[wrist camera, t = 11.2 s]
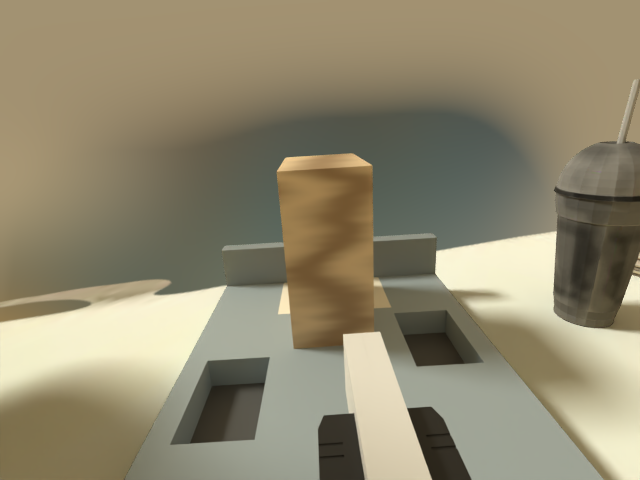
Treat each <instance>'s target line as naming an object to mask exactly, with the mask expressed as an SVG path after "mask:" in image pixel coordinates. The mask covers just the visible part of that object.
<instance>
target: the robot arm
mask: <svg viewBox="0 0 640 480" xmlns="http://www.w3.org/2000/svg"><path fill="white" fill-rule="evenodd" d="M343 345H344V368H345V390H346V397H347V404H348V411H349V414H335V415H324V416H323V418H322V420H321V423H320V425H319V427H318V449H319V479H320V480H472V479H471V477H470V475H469V473H468V471H467V469H466V466H465V464H464V462H463V460H462V458H461V456H460V453H459V451H458V449H456V445H455V443H454V440H453V438H452V436H451V435H450V432H449V430H448V428H447V425H446V423H445V421H444V419H443V418H442V417H441V416H440V415H439V414H438V413H437V412H436V411H435V410H434V409H433V408H432V407H417V408H407V407H406V404H405V402H404V399H403V396H402V393H401V390H400V387H399V385H398V382H397V379H396V376H395V373H394V370H393V367H392V365H391V362H390V359H389V356H388V353H387V350H386V348H385V345H384V342H383V339H382V336H381V333H380V332H369V333H354V334H343Z"/></svg>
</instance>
